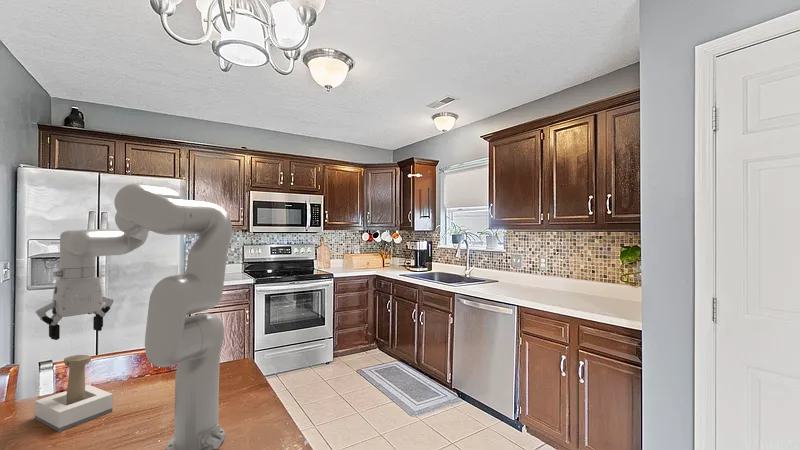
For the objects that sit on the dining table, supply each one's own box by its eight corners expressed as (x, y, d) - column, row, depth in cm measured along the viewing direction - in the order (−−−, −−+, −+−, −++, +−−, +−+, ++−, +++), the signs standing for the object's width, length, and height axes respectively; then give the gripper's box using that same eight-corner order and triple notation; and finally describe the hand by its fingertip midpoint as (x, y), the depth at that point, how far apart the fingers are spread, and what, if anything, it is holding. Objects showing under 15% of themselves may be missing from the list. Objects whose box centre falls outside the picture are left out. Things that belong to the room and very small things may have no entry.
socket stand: (112, 411, 105) (112, 394, 105) (59, 431, 94) (59, 412, 94) (87, 400, 111) (87, 384, 111) (34, 418, 100) (35, 400, 100)
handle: (74, 417, 99) (76, 361, 100) (56, 413, 101) (59, 359, 101) (92, 409, 104) (95, 356, 105) (76, 406, 106) (78, 354, 106)
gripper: (43, 278, 94) (42, 345, 93) (119, 271, 109) (119, 328, 109) (30, 276, 97) (29, 341, 97) (106, 270, 112) (105, 325, 112)
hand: (77, 334), depth 103 cm, fingers open, 9 cm apart
